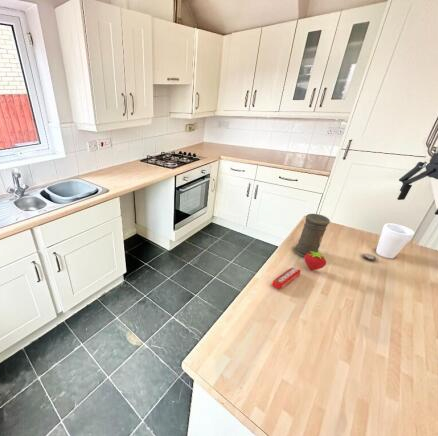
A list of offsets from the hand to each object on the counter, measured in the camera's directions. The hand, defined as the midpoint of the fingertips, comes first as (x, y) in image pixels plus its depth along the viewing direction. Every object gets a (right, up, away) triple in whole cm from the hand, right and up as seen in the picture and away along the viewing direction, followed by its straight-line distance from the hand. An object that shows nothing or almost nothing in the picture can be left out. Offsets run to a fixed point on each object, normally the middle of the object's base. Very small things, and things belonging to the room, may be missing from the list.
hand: (418, 206), depth 97 cm
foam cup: (-3, -21, +11) cm, 24 cm away
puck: (-13, -22, +8) cm, 27 cm away
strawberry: (-42, -26, +2) cm, 49 cm away
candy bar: (-55, -29, -3) cm, 63 cm away
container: (-37, -21, +13) cm, 44 cm away
